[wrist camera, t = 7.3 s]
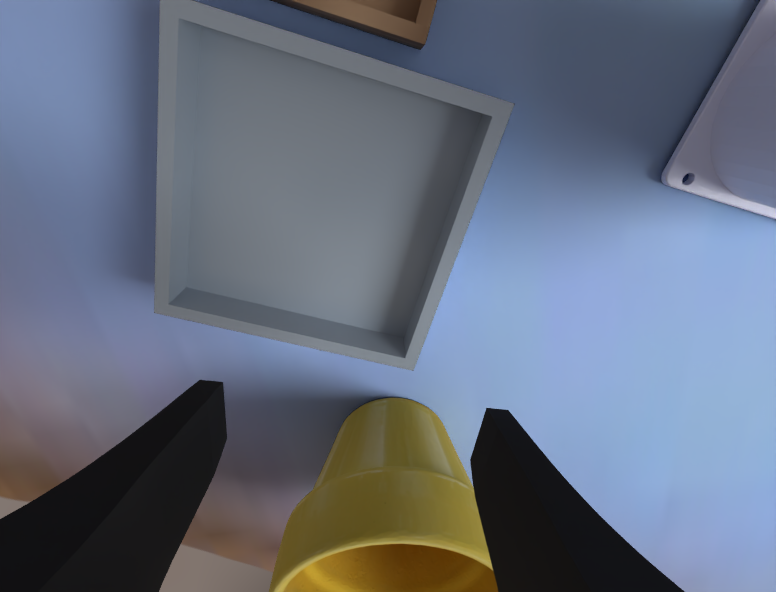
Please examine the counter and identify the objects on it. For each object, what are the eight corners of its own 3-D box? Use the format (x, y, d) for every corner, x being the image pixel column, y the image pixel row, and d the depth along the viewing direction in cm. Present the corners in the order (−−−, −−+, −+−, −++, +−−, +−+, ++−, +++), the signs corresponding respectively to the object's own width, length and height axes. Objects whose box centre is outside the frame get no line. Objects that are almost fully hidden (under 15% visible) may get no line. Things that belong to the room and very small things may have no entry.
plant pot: (351, 341, 22) (327, 509, 13) (509, 408, 24) (579, 589, 15) (283, 462, 26) (231, 650, 17) (423, 509, 28) (440, 697, 19)
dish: (497, 102, 16) (514, 103, 14) (410, 343, 22) (413, 370, 20) (192, 4, 15) (160, -10, 13) (178, 289, 20) (154, 312, 18)
